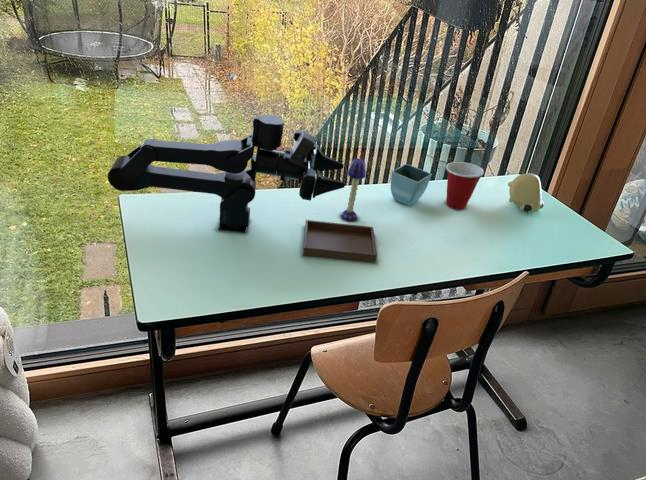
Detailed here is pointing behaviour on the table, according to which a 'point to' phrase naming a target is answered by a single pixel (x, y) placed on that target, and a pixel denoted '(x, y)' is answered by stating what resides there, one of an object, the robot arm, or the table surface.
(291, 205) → the table surface
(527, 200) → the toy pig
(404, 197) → the flower pot
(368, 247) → the tray
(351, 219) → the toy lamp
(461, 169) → the plastic cup
